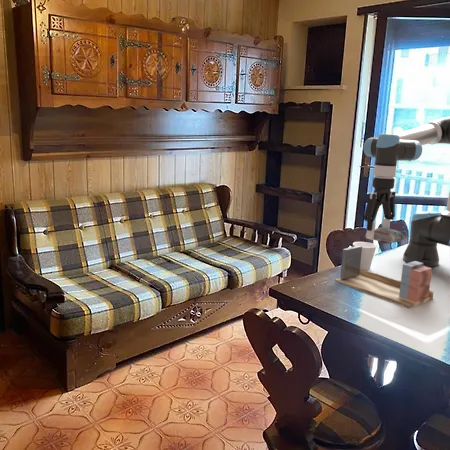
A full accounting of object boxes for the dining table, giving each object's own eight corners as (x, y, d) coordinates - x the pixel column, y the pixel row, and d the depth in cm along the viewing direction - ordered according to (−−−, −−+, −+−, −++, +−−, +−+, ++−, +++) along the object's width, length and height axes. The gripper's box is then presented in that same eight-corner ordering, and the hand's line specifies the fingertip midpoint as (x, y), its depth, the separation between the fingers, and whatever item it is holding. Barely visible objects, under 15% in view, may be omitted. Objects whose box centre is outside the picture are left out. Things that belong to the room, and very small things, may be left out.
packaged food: (393, 246, 167) (395, 233, 166) (364, 240, 176) (365, 227, 175) (405, 243, 173) (407, 230, 172) (376, 237, 181) (377, 224, 180)
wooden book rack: (358, 275, 194) (361, 244, 191) (432, 299, 170) (437, 264, 167) (335, 281, 185) (337, 249, 182) (409, 308, 161) (414, 271, 158)
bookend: (355, 274, 191) (358, 245, 188) (359, 275, 190) (362, 246, 187) (340, 278, 185) (343, 249, 182) (343, 279, 184) (346, 250, 181)
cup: (375, 273, 197) (378, 248, 194) (351, 271, 198) (353, 246, 196) (372, 267, 206) (375, 242, 204) (349, 265, 208) (351, 240, 205)
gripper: (391, 174, 181) (385, 232, 186) (357, 177, 168) (351, 238, 172) (409, 177, 175) (402, 236, 180) (375, 179, 162) (368, 243, 167)
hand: (377, 237), depth 176 cm, fingers closed on packaged food, 9 cm apart
